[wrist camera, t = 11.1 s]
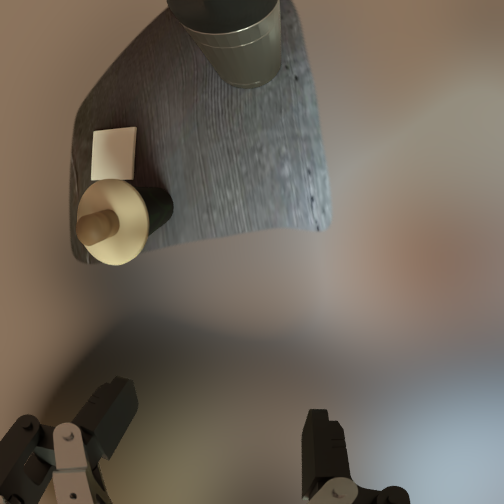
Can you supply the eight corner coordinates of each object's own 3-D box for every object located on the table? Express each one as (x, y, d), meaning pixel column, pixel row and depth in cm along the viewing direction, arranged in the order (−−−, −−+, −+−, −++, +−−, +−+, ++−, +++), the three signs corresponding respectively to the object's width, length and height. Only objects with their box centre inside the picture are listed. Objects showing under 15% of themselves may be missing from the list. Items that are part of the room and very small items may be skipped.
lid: (80, 179, 28) (53, 182, 23) (150, 178, 27) (126, 181, 22) (83, 257, 30) (59, 270, 26) (150, 267, 29) (129, 284, 25)
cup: (155, 242, 41) (113, 267, 30) (125, 204, 40) (77, 217, 29) (190, 209, 40) (155, 225, 28) (158, 170, 38) (114, 171, 27)
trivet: (95, 131, 38) (93, 131, 37) (136, 127, 37) (134, 126, 36) (93, 179, 40) (91, 180, 39) (133, 179, 39) (131, 179, 39)
